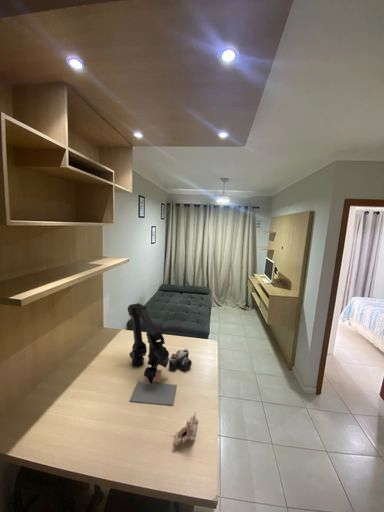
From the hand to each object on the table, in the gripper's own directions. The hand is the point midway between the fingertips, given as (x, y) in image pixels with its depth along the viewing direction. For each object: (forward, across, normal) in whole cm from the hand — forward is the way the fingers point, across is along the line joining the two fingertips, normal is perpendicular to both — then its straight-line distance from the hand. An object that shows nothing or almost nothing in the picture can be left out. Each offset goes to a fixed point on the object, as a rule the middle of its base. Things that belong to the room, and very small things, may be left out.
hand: (153, 377), depth 125 cm
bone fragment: (+3, -31, -20) cm, 37 cm away
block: (+2, 0, 0) cm, 2 cm away
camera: (+2, +14, -15) cm, 21 cm away
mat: (+1, -10, -3) cm, 11 cm away
